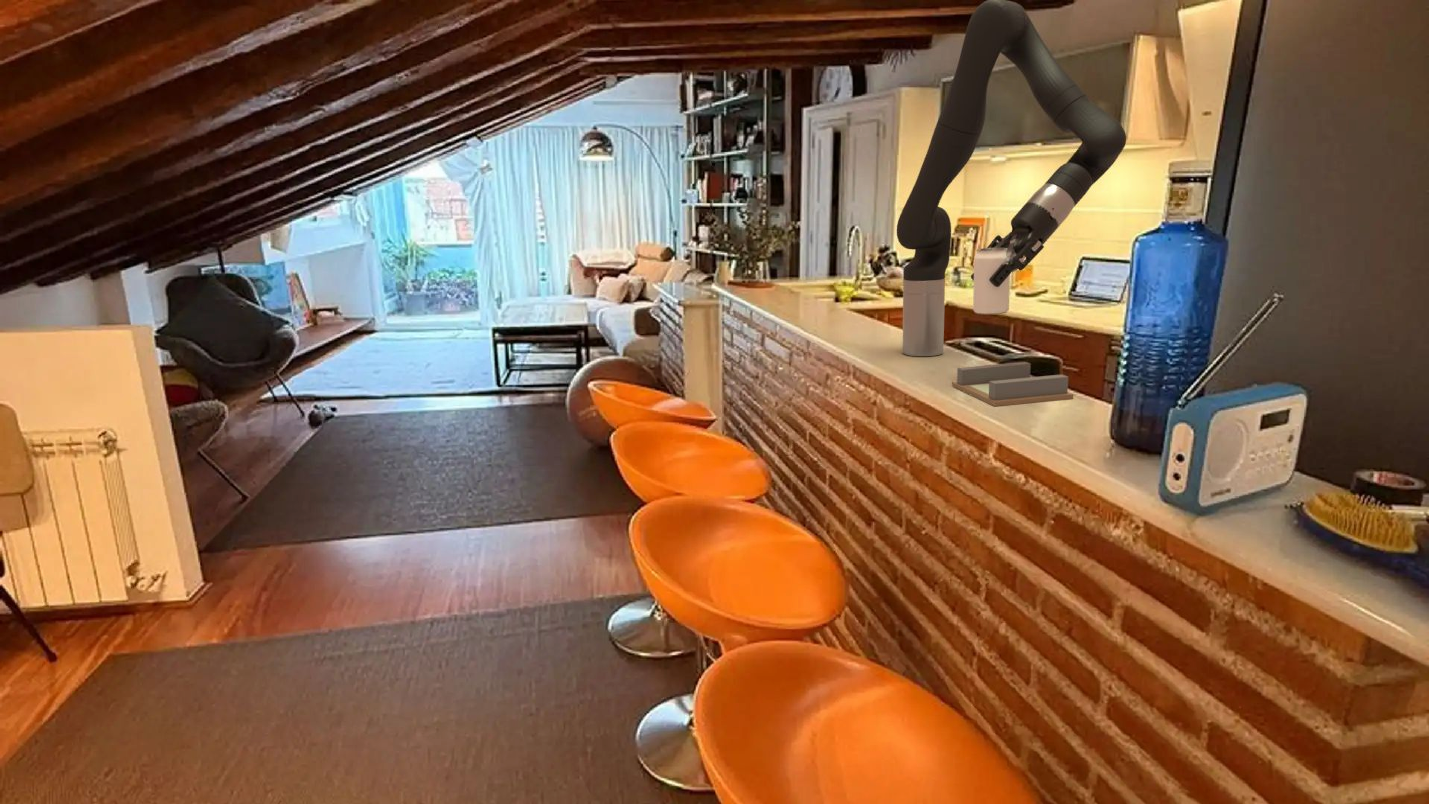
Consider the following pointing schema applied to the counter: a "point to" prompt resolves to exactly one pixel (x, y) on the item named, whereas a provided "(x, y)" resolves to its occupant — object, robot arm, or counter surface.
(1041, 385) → the twin rail tray
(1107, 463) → the counter surface
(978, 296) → the can
